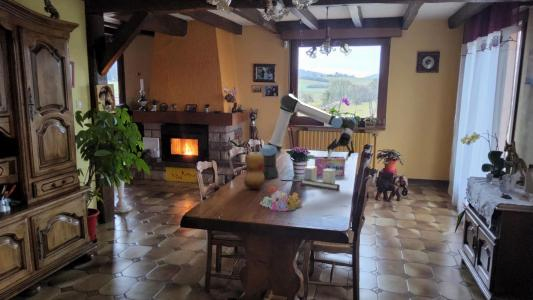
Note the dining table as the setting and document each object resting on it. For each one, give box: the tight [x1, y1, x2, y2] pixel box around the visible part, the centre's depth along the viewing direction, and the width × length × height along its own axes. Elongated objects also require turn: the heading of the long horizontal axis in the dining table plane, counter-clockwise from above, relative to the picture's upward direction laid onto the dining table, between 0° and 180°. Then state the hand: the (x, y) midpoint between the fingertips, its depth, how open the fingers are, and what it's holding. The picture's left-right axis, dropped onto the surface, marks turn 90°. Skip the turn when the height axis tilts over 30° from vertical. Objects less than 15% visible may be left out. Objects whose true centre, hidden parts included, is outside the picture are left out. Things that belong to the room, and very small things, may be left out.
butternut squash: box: [243, 151, 265, 190], centre depth 250 cm, size 14×13×25 cm
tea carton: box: [321, 168, 336, 184], centre depth 260 cm, size 8×6×12 cm
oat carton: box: [303, 165, 318, 181], centre depth 267 cm, size 8×6×12 cm
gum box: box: [314, 156, 347, 176], centre depth 296 cm, size 24×8×14 cm, turn 91°
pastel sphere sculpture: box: [259, 186, 303, 212], centre depth 218 cm, size 25×24×9 cm
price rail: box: [300, 178, 341, 192], centre depth 257 cm, size 28×2×4 cm, turn 58°
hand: (337, 158), depth 266 cm, fingers open, 13 cm apart
